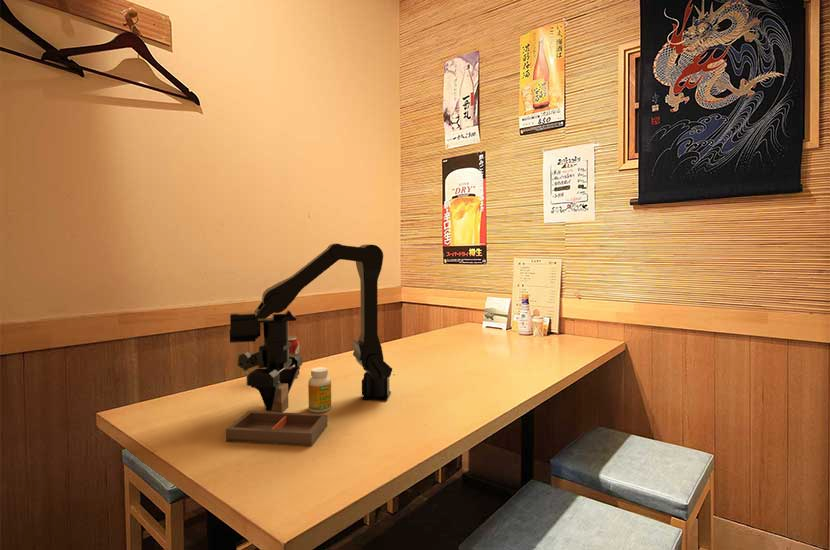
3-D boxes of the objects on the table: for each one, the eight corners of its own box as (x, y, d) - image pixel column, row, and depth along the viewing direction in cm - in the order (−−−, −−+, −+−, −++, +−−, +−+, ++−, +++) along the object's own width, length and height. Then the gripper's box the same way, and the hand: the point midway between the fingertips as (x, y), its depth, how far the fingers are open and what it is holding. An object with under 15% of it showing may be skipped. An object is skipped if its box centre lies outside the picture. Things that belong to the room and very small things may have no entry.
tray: (327, 426, 99) (327, 414, 99) (311, 446, 89) (311, 433, 89) (249, 422, 101) (249, 410, 101) (225, 441, 91) (225, 429, 91)
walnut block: (288, 407, 111) (288, 383, 110) (281, 413, 107) (281, 388, 106) (272, 406, 111) (272, 382, 111) (265, 412, 107) (265, 388, 107)
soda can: (293, 381, 132) (292, 340, 131) (271, 379, 133) (271, 339, 132) (303, 374, 138) (302, 335, 137) (283, 373, 139) (282, 335, 139)
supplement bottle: (320, 414, 106) (319, 373, 105) (303, 409, 109) (303, 370, 108) (336, 407, 110) (335, 368, 110) (319, 403, 113) (319, 365, 113)
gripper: (261, 331, 118) (262, 390, 119) (223, 347, 99) (225, 417, 100) (302, 332, 117) (303, 391, 118) (271, 349, 98) (272, 419, 99)
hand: (277, 403), depth 109 cm, fingers open, 9 cm apart
